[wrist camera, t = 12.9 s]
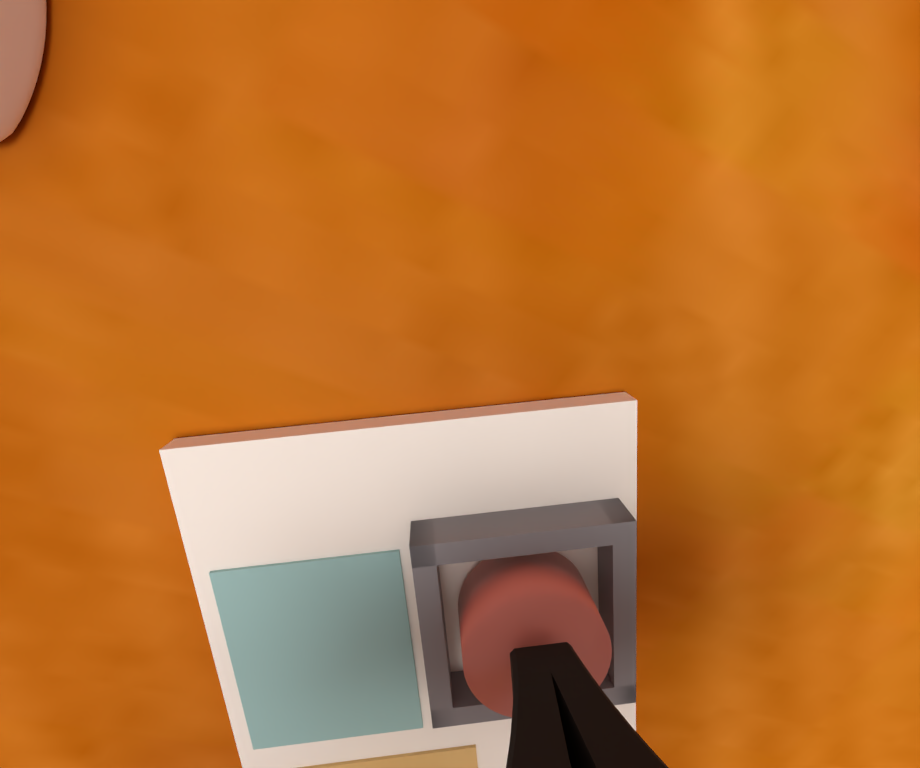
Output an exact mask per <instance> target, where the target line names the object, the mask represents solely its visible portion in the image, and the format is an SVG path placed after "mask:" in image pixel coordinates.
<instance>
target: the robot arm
mask: <svg viewBox="0 0 920 768" xmlns="http://www.w3.org/2000/svg"><path fill="white" fill-rule="evenodd" d="M510 665H511V678H512V691H513V709H512V722H511V734H510V743H509V750H508V757H507V764H506V768H668V767H667V766H666V765H665V763H664V762H663V761H662V760H661V759H660V758H659V757H658V756H657V755H656V754H655V753H654V751H653V750H652V749H651V748H650V747H649V746H648V745H647V744H646V743H645V741H644V740H643V739H642V738H641V737H640V736H639V734H638V733H637V732H636V731H635V730H634V729H633V728H632V726H631V725H630V724H629V723H628V721H627V720H626V719H625V718H624V717H623V715H622V714H621V713H620V712H619V710H618V709H617V708H616V707H615V706H614V704H613V703H612V702H611V701H610V699H609V698H608V697H607V695H606V694H605V693H604V692H603V690H602V689H601V688H600V686H599V685H598V683H597V682H596V681H595V679H594V678H593V677H592V675H591V674H590V673H589V671H588V670H587V668H586V667H585V665H584V664H583V663H582V661H581V660H580V658H579V657H578V655H577V654H576V652H575V650H574V649H573V647H572V646H571V645H570V644H569V643H567V642H562V643H554V644H546V645H538V646H530V647H522V648H514V649H513V650H512V651H511V652H510Z"/></svg>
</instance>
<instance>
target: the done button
mask: <svg viewBox="0 0 920 768" xmlns="http://www.w3.org/2000/svg"><path fill="white" fill-rule="evenodd" d="M458 615H459V627H460V638H461V650H462V661H463V671H464V676H465V679H466V682H467V685H468V686H469V688H470V690H471V692H472V693H473V694H474V696H475V697H476V698H477V699H478V700H479V701H480V702H481V703H482V704H483V705H485V706H486V707H488V708H489V709H491V710H493V711H494V712H496V713H499V714H501V715H504V716H507V717H511V718H512V709H513V691H512V678H511V665H510V652H511V651H512V650H513V649H514V648H522V647H530V646H538V645H546V644H554V643H562V642H567V643H569V644H570V645H571V646H572V647H573V649H574V650H575V652H576V654H577V655H578V657H579V658H580V660H581V661H582V663H583V664H584V665H585V667H586V668H587V670H588V671H589V673H590V674H591V675H592V677H593V678H594V679H595V681H596V682H597V683H598V685H599V686H600V685H601V683H602V682H603V680H604V678H605V676H606V675H607V672H608V669H609V667H610V662H611V657H612V646H611V640H610V636H609V633H608V631H607V628H606V626H605V624H604V622H603V620H602V618H601V616H600V614H599V612H598V609H597V607H596V605H595V603H594V601H593V599H592V597H591V595H590V593H589V591H588V589H587V586H586V584H585V582H584V580H583V578H582V576H581V574H580V572H579V571H578V569H577V568H576V567H575V566H574V564H573V563H572V562H571V561H569V560H568V559H567V558H566V557H564V556H563V555H561V554H560V553H557V552H549V553H541V554H532V555H523V556H515V557H506V558H498V559H489V560H482V561H481V562H480V563H479V564H478V565H477V566H475V567H474V568H473V570H472V571H471V572H470V573H469V574H468V576H467V578H466V579H465V581H464V583H463V585H462V587H461V590H460V594H459V599H458Z"/></svg>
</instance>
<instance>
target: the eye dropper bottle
mask: <svg viewBox="0 0 920 768" xmlns="http://www.w3.org/2000/svg"><path fill="white" fill-rule="evenodd" d="M45 35H46V0H0V142H1V141H2V140H4V139H5V138H7V137H8V136H9V135H11V134H12V133H13V132H14V130H15V129H16V127H17V125H18V124H19V122H20V121H21V119H22V117H23V115H24V113H25V111H26V109H27V107H28V104H29V102H30V99H31V97H32V94H33V91H34V88H35V85H36V82H37V79H38V75H39V71H40V67H41V62H42V57H43V52H44V44H45Z"/></svg>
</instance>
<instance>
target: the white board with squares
mask: <svg viewBox="0 0 920 768" xmlns="http://www.w3.org/2000/svg"><path fill="white" fill-rule="evenodd" d="M159 452H160V456H161V460H162V463H163V467H164V471H165V475H166V479H167V482H168V486H169V490H170V494H171V498H172V501H173V505H174V509H175V513H176V517H177V521H178V524H179V528H180V532H181V536H182V540H183V543H184V547H185V551H186V555H187V559H188V562H189V566H190V570H191V574H192V578H193V581H194V585H195V589H196V593H197V597H198V600H199V604H200V608H201V612H202V616H203V620H204V623H205V627H206V631H207V635H208V639H209V642H210V646H211V650H212V654H213V658H214V661H215V665H216V669H217V673H218V677H219V680H220V684H221V688H222V692H223V696H224V700H225V703H226V707H227V711H228V715H229V719H230V722H231V726H232V730H233V734H234V738H235V741H236V745H237V749H238V753H239V757H240V760H241V764H242V768H506V764H507V757H508V750H509V743H510V734H511V722H512V718H511V717H507V716H504V715H501V714H499V713H496V712H494V711H493V710H491V709H489V708H488V707H486V706H485V705H483V704H482V703H481V702H480V701H479V700H478V699H477V698H476V697H475V696H474V694H473V693H472V692H471V690H470V688H469V686H468V685H467V682H466V679H465V676H464V671H463V661H462V650H461V638H460V627H459V615H458V599H459V594H460V590H461V587H462V585H463V583H464V581H465V579H466V578H467V576H468V574H469V573H470V572H471V571H472V570H473V568H474V567H475V566H477V565H478V564H479V563H480V562H481V561H482V560H489V559H498V558H506V557H515V556H523V555H532V554H541V553H549V552H557V553H560V554H561V555H563V556H564V557H566V558H567V559H568V560H569V561H571V562H572V563H573V564H574V566H575V567H576V568H577V569H578V571H579V572H580V574H581V576H582V578H583V580H584V582H585V584H586V586H587V589H588V591H589V593H590V595H591V597H592V599H593V601H594V603H595V605H596V607H597V609H598V612H599V614H600V616H601V618H602V620H603V622H604V624H605V626H606V628H607V631H608V633H609V636H610V640H611V646H612V657H611V662H610V667H609V669H608V672H607V675H606V676H605V678H604V680H603V682H602V683H601V685H600V688H601V689H602V690H603V692H604V693H605V694H606V695H607V697H608V698H609V699H610V701H611V702H612V703H613V704H614V706H615V707H616V708H617V709H618V710H619V712H620V713H621V714H622V715H623V717H624V718H625V719H626V720H627V721H628V723H629V724H630V725H631V726H632V728H633V729H634V730H635V731H636V556H637V400H636V399H635V398H633V397H632V396H630V395H629V394H628V393H626V392H618V393H608V394H599V395H589V396H579V397H570V398H560V399H551V400H541V401H531V402H522V403H512V404H502V405H493V406H483V407H473V408H464V409H454V410H444V411H435V412H425V413H415V414H406V415H396V416H387V417H377V418H367V419H358V420H348V421H338V422H329V423H319V424H309V425H300V426H290V427H280V428H271V429H261V430H251V431H242V432H232V433H223V434H213V435H203V436H194V437H184V438H175V439H173V440H172V441H171V442H169V443H168V444H167V445H165V446H164V447H163V448H161V449H160V450H159Z"/></svg>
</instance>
